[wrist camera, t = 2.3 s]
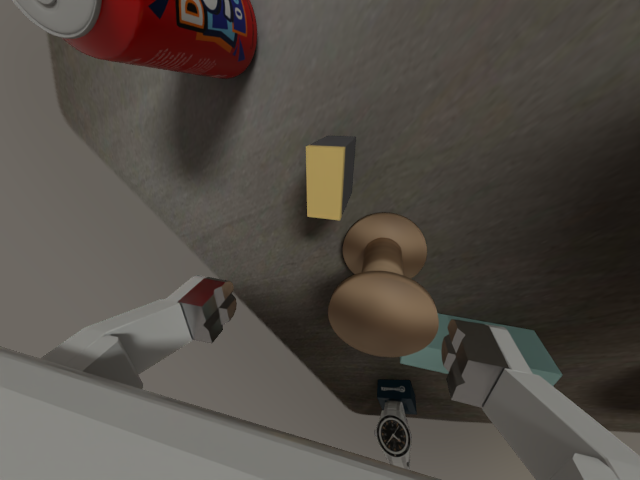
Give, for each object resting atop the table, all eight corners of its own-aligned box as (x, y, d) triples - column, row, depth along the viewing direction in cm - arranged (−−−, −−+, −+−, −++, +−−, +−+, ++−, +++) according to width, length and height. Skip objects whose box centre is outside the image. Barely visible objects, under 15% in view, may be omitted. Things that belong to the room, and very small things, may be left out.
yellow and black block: (327, 135, 26) (305, 146, 19) (356, 136, 25) (343, 148, 18) (326, 190, 29) (307, 216, 22) (351, 192, 28) (339, 220, 21)
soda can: (185, 59, 25) (-17, 15, 13) (192, -43, 21) (-97, -260, 9) (251, 93, 25) (114, 81, 13) (271, -3, 21) (98, -161, 9)
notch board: (403, 307, 34) (405, 342, 29) (533, 330, 31) (562, 375, 26) (398, 326, 36) (400, 363, 31) (520, 350, 33) (545, 395, 28)
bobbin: (346, 208, 29) (323, 263, 19) (435, 217, 27) (462, 284, 17) (341, 274, 34) (321, 347, 24) (416, 286, 32) (429, 371, 22)
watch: (407, 372, 40) (413, 452, 31) (416, 401, 43) (424, 482, 34) (374, 372, 42) (370, 447, 33) (385, 399, 46) (384, 475, 36)
